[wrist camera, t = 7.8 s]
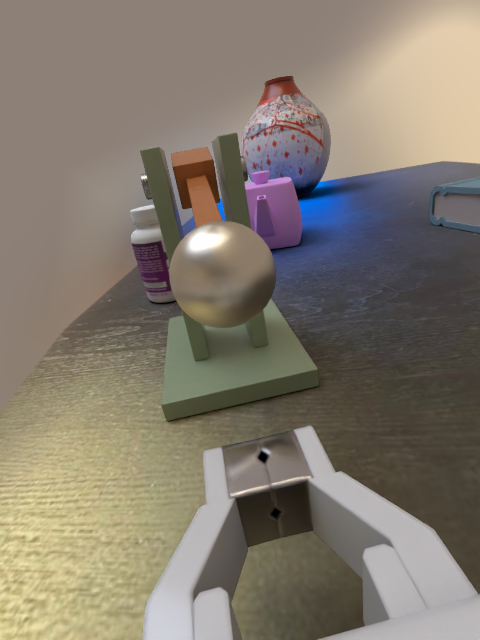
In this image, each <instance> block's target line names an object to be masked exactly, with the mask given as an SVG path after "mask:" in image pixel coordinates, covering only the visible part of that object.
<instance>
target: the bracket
mask: <svg viewBox="0 0 480 640" xmlns="http://www.w3.org/2000/svg"><path fill="white" fill-rule="evenodd" d="M212 146H213V151H214V157H215V163H216V168H217V174H218V180H219V185H220V190H221V196H222V202H223V208H224V213H225V219H226V221H231V222H236V223H239V224H242V225H244V226H246V227H248V228H250V229H251V223H250V216H249V209H248V203H247V196H246V189H245V183H244V181H247V179H248V171H247V165H246V160H245V158H244V156H240V150H239V143H238V136H237V133H231V134H226V135H220V136H218V137H217V138H216V139H214V140H213V141H212ZM140 153H141V156H142V160H143V164H144V168H145V172H146V173H145V174H141V181H142V186H143V189H144V193H145V195H146V198H147V199H148V200H149V199H153V203H154V207H155V210H156V214H157V218H158V222H159V226H160V230H161V234H162V237H163V241H164V245H165V249H166V253H167V257H168V260H169V264H170V263H171V259H172V256H173V254H174V251H175V249H176V247H177V246H178V244H179V243H180V241H181V240H182V239H183V238H184V234H183V230H182V226H181V222H180V217H179V213H178V209H177V205H176V200H175V196H174V192H173V187H172V183H171V179H170V174H169V170H168V166H167V162H166V157H165V153H164V151H163V150H162V149H161V148H160V147H153V148H147V149H141V150H140ZM181 310H182V308H181ZM182 314H183V316H179V317H175V318H170V319H169V327H168V338H167V349H166V360H165V370H164V381H163V392H162V403H161V406H162V409H163V412H164V415H165V418H166V421H170V420H174V419H178V418H183V417H187V416H191V415H195V414H200V413H204V412H208V411H213V410H217V409H221V408H226V407H230V406H234V405H239V404H243V403H247V402H251V401H256V400H260V399H264V398H269V397H273V396H277V395H282V394H286V393H290V392H295V391H299V390H303V389H307V388H312V387H316V386H319V378H318V369H317V367H316V366H315V364H314V363H313V361H312V360H311V358H310V357H309V355H308V354H307V352H306V351H305V349H304V348H303V346H302V345H301V343H300V342H299V340H298V339H297V337H296V336H295V334H294V333H293V331H292V330H291V328H290V327H289V325H288V324H287V322H286V321H285V319H284V317H283V316H282V314H281V313H280V311H279V310H278V308H277V307H276V305H275V304H274V302H273V301H272V299H270V301H269V302H268V304H267V306H266V307H265V308H264V309H263V311H262V312H261V313H260V314H259V315H258V316H256V317H255V318H254V319H252V320H251V321H249V322H247V323H245V324H243V325H240V326H237V327H232V328H214V327H209V326H206V325H203V324H201V323H199V322H197V321H195V320H194V319H192V318H191V317H190V316H189V315H187V314H186V313H185V312H184V311H183V310H182Z"/></svg>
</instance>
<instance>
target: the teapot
mask: <svg viewBox="0 0 480 640" xmlns="http://www.w3.org/2000/svg"><path fill="white" fill-rule="evenodd" d="M251 176H252V178H253V180H254V182H253V183H248V184H245V189H246V196H247V203H248V209H249V216H250V223H251V229H252V230H253V231H254V232H256V233H257V234H258V235H259V236H260V237H261V238H262V239H263V240H264V241H265V243H266V244H267V246H268V247H269V249H276V248H283V247H290V246H296V245H298V244H299V243H300V239H301V233H302V219H301V213H300V207H299V202H298V198H297V194H296V191H295V187H294V184H293V181H292V179H291V178H290V177H283V178H277V179H271V180H268V177H269V171H259V172H255V173H252V174H251Z"/></svg>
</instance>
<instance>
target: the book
mask: <svg viewBox="0 0 480 640" xmlns="http://www.w3.org/2000/svg"><path fill="white" fill-rule="evenodd" d="M429 218H430V220H431V221H432V223H433V225H443V226H444V227H449V228H455V229H460V230H465V231H471V232H476V233H480V177H476V178H471V179H466V180H462V181H457V182H452V183H448V184H443V185H438V186H436V187H435V188H434V189H433V190H432V192H431V193H430V208H429Z"/></svg>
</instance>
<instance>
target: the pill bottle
mask: <svg viewBox="0 0 480 640" xmlns="http://www.w3.org/2000/svg"><path fill="white" fill-rule="evenodd" d="M130 214H131V219H132V222H133V223H134V225H136V226H137V229H136V230H135V231H134V232H133V233H132V235H131V243H132V246H133V249H134V253H135V257H136V260H137V263H138V266H139V270H140V273H141V277H142V280H143V283H144V287H145V290H146V294H147V297H148V299H149V300H151V301H152V302H157V303H164V302H172V301H175V300H176V299H175V297H174V295H173V292H172V289H171V285H170V277H169V272H170V264H169V260H168V257H167V253H166V249H165V245H164V241H163V237H162V234H161V230H160V226H159V222H158V218H157V214H156V210H155V207H154V205H149V206H145V207H140V208H136V209H133V210H131V211H130Z"/></svg>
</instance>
